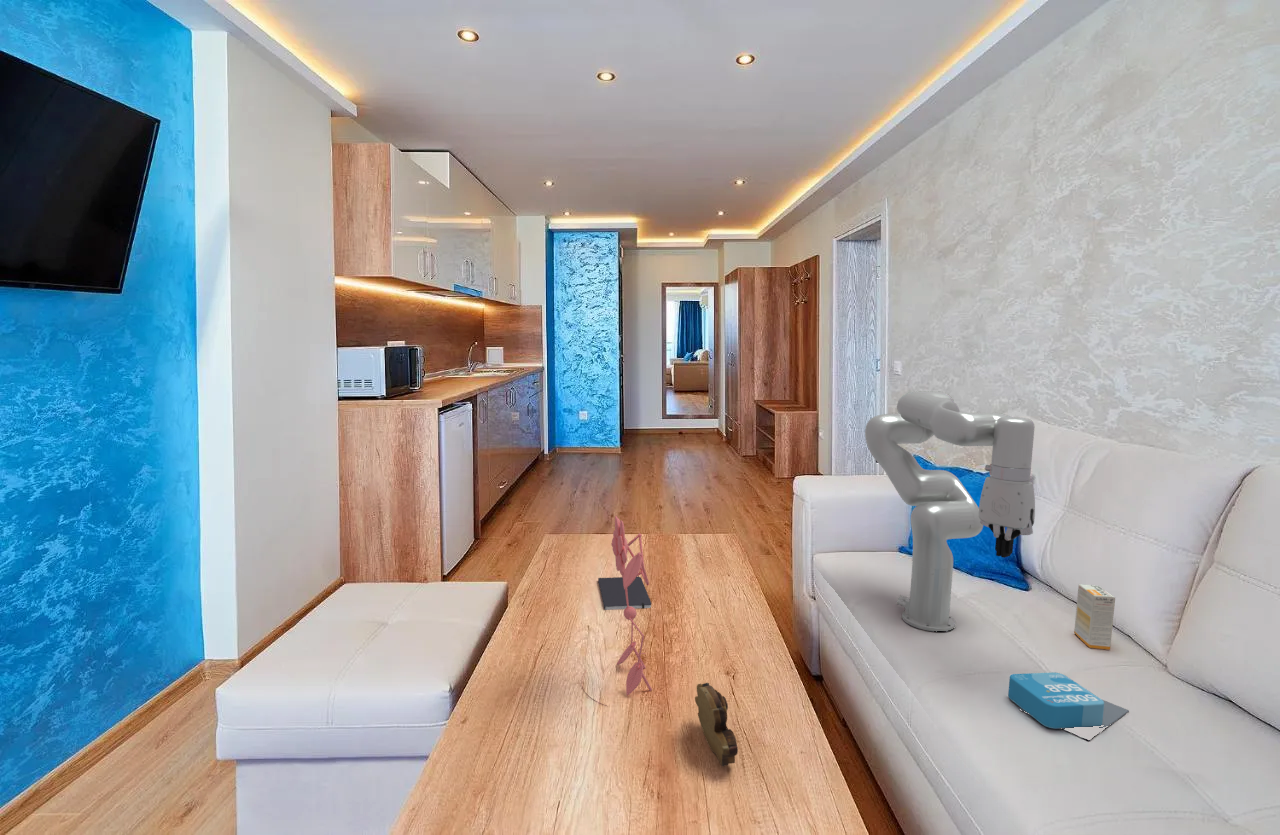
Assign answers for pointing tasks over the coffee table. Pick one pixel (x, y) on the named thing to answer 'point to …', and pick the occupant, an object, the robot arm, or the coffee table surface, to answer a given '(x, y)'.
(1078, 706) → the data package
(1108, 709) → the mat
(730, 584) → the coffee table surface
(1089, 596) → the supplement box
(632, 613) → the pink leafy sprig
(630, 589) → the notebook
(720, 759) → the wooden carving
